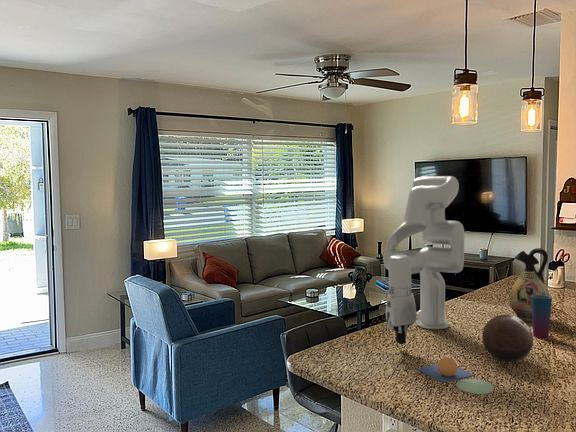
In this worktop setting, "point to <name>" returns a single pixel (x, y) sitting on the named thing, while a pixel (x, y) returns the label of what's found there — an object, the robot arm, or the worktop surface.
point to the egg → (447, 367)
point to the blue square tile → (436, 374)
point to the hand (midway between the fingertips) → (400, 342)
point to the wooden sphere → (507, 338)
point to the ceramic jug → (528, 284)
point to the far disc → (475, 386)
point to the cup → (541, 315)
